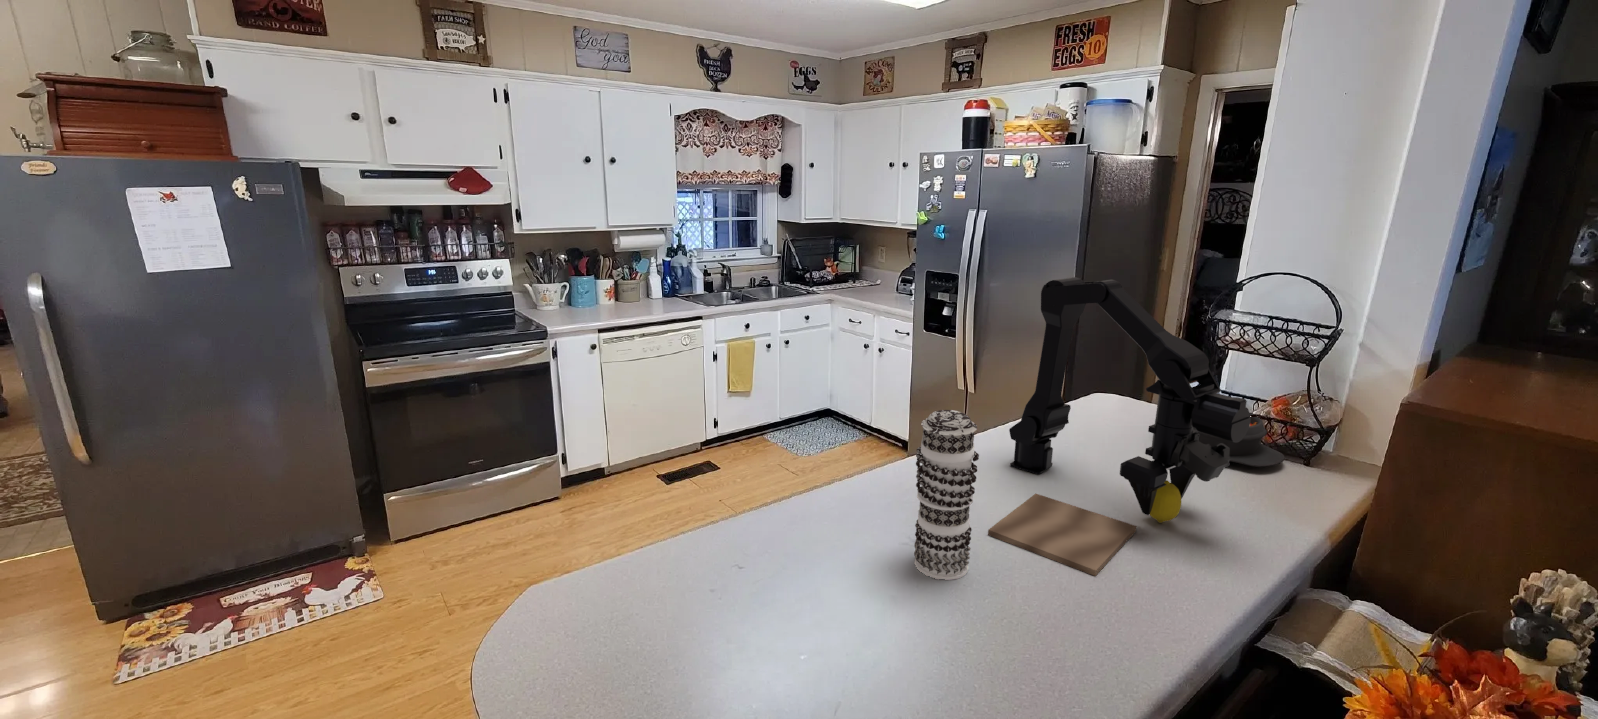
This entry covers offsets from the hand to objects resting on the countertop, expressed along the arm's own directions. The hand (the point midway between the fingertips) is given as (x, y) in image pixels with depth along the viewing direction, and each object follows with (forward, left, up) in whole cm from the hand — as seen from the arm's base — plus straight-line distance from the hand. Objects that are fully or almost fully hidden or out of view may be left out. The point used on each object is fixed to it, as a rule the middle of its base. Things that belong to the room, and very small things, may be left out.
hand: (1161, 506), depth 119 cm
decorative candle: (-21, -37, -3) cm, 43 cm away
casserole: (-1, +41, -3) cm, 41 cm away
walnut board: (-11, -15, -3) cm, 19 cm away
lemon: (0, 0, -3) cm, 3 cm away
